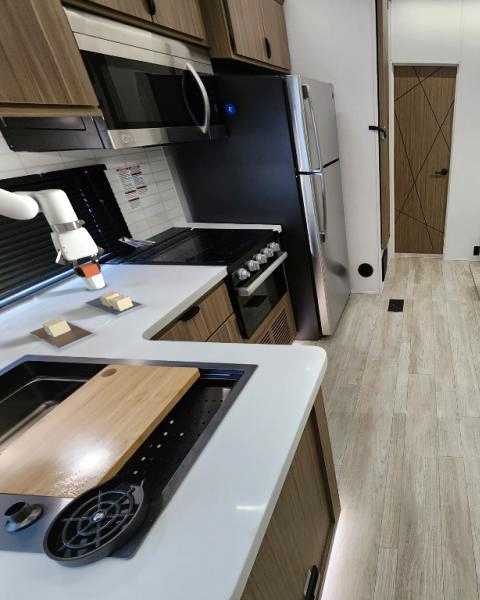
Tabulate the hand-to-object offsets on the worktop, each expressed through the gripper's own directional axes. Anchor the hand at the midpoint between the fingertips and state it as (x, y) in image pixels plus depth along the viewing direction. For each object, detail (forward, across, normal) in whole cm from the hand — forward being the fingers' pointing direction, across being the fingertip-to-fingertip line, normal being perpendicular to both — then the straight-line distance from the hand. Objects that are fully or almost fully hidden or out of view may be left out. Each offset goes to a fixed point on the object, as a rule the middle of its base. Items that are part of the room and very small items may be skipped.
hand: (90, 273), depth 124 cm
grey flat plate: (+12, 0, +7) cm, 14 cm away
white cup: (+12, -6, -18) cm, 23 cm away
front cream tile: (+11, +19, +13) cm, 26 cm away
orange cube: (+1, 0, 0) cm, 1 cm away
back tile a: (+11, 0, +14) cm, 18 cm away
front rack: (+12, +19, +14) cm, 26 cm away
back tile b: (+11, 0, +7) cm, 13 cm away
